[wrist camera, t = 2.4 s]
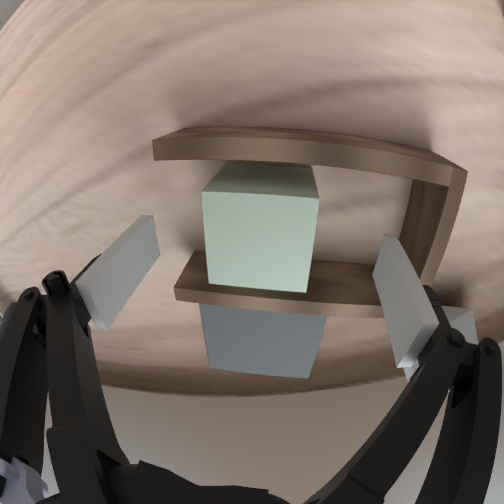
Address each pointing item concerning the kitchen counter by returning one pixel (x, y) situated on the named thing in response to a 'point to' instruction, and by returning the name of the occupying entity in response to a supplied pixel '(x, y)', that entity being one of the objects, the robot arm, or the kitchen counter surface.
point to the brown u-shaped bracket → (335, 155)
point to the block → (260, 226)
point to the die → (458, 320)
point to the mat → (261, 340)
